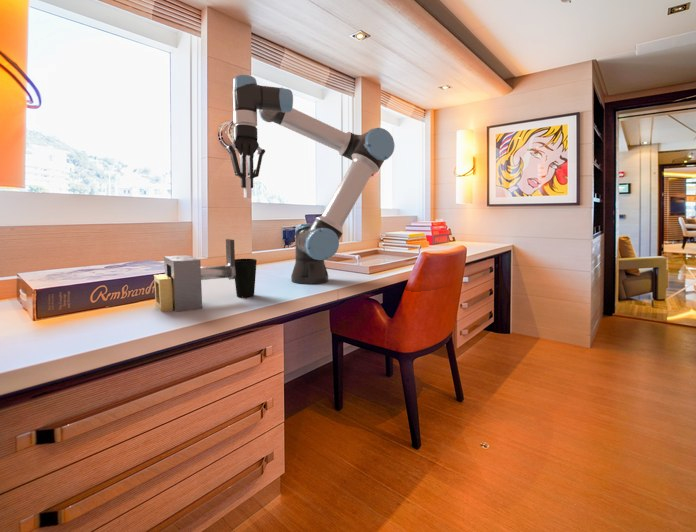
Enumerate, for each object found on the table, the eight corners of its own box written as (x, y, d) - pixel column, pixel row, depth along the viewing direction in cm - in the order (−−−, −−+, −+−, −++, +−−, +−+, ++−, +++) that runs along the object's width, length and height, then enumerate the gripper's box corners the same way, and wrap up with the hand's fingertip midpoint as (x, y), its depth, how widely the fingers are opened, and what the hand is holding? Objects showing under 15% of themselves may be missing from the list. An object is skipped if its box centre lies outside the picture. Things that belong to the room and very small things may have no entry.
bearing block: (190, 299, 118) (188, 255, 117) (202, 308, 107) (200, 259, 105) (166, 301, 114) (163, 256, 112) (176, 311, 103) (173, 261, 101)
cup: (250, 299, 120) (250, 261, 118) (229, 297, 121) (227, 260, 120) (261, 294, 127) (260, 259, 126) (240, 292, 129) (239, 258, 127)
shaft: (230, 278, 121) (229, 238, 119) (235, 280, 116) (234, 239, 115) (176, 282, 111) (174, 240, 110) (179, 285, 107) (177, 241, 105)
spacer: (166, 303, 112) (165, 274, 111) (173, 310, 105) (171, 278, 104) (155, 305, 110) (153, 274, 109) (161, 311, 103) (159, 279, 102)
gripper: (259, 131, 132) (261, 198, 135) (222, 125, 124) (224, 197, 128) (268, 127, 126) (269, 198, 129) (230, 121, 118) (232, 196, 122)
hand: (247, 197), depth 128 cm, fingers closed
